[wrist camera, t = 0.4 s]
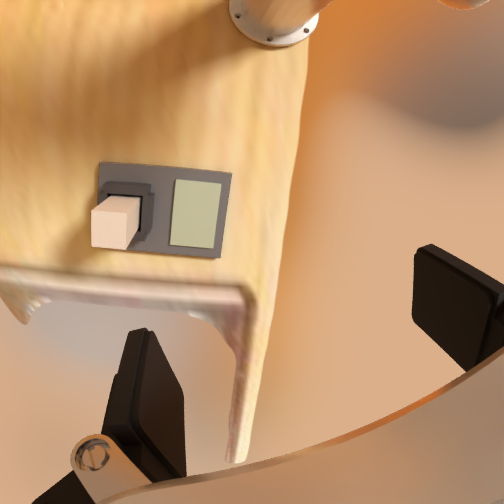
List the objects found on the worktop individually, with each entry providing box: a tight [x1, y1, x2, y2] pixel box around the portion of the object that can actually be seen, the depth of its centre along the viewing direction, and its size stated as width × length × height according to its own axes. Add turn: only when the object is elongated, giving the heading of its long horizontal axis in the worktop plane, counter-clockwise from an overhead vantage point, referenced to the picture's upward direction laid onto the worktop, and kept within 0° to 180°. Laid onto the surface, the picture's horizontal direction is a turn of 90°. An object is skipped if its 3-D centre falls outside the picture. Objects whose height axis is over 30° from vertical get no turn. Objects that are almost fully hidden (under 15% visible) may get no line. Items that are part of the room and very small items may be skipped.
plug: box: [91, 194, 143, 250], centre depth 35 cm, size 4×4×10 cm
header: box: [97, 162, 232, 258], centre depth 40 cm, size 12×18×4 cm, turn 81°
